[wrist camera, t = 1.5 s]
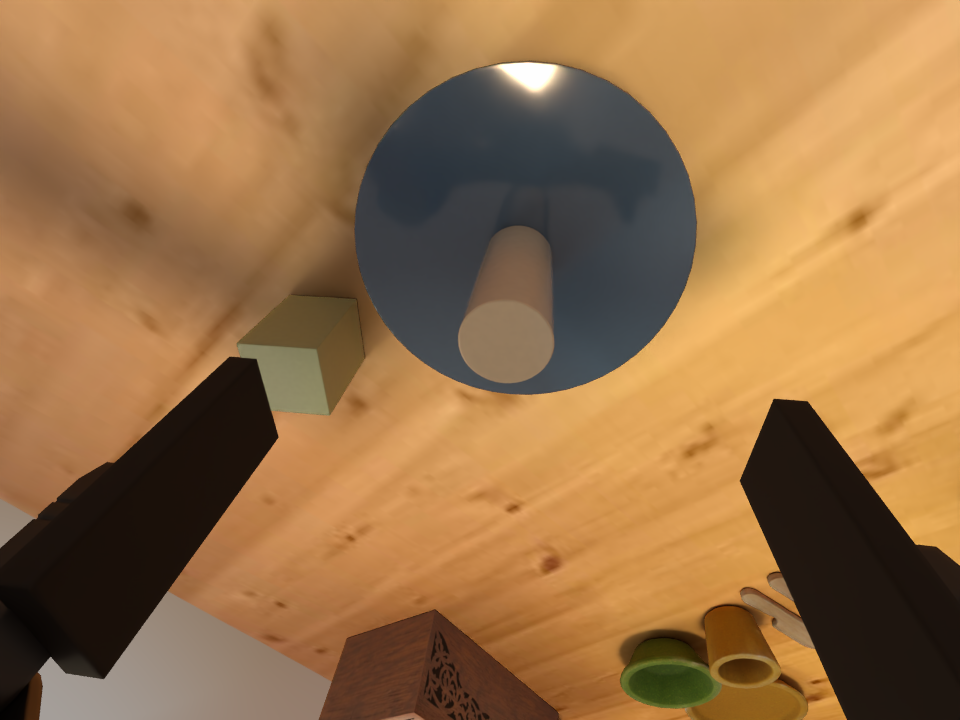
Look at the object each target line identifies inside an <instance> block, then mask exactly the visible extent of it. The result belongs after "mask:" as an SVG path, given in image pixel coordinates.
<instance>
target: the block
mask: <svg viewBox="0 0 960 720" xmlns="http://www.w3.org/2000/svg"><path fill="white" fill-rule="evenodd" d="M237 347H238V350H239V353H240V357H241V358H253V359H257V362H258V366H259V369H260V373H261V376H262V380H263V383H264V387H265V391H266V394H267V398H268V401H269V405H270V408H271V411H282V412H293V413H305V414H317V415H329V416H330V415H331V413H332V411H333V410H334V408H335V407H336V405H337V403H338V402H339V400H340V398H341V397H342V395H343V393H344V392H345V390H346V388H347V387H348V385H349V384H350V382H351V380H352V379H353V377H354V375H355V374H356V372H357V370H358V369H359V367H360V366H361V364H362V362H363V361H364V359H365V356H364V349H363V342H362V335H361V328H360V321H359V313H358V306H357V299H350V298H333V297H316V296H300V295H289V296H288V297H287V298H285V299H284V300H283V301H282V302H281V303H280V304H279V305H278V306H277V307H276V308H275V309H273V310H272V311H271V312H270V313H269V314H268V315H267V316H266V317H265V318H264V319H263V320H261V321H260V322H259V323H258V324H257V325H256V326H255V327H254V328H253V329H252V330H251V331H249V332H248V333H247V334H246V335H245V336H244V337H243V338H242V339H241V340H240V341H239V342H237Z"/></svg>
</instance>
